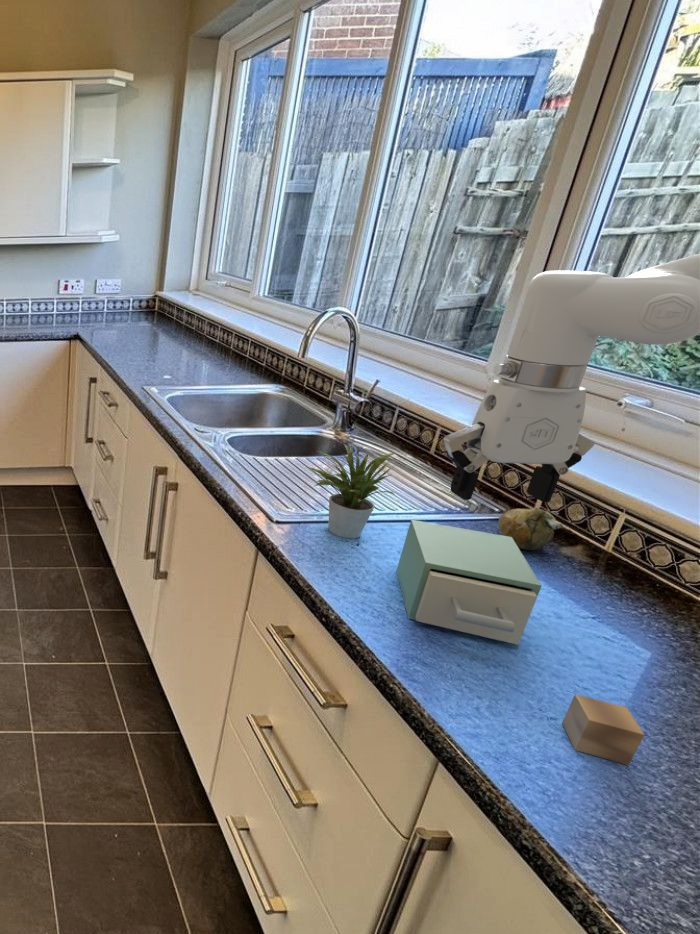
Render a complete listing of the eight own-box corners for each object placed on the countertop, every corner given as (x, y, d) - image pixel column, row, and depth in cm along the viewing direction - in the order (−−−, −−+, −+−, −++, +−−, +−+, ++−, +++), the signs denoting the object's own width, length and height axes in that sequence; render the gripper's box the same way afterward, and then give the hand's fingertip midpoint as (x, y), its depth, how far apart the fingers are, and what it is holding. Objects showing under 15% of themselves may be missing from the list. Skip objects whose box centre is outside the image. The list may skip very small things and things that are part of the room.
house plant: (335, 506, 125) (353, 430, 119) (407, 536, 113) (431, 454, 107) (286, 521, 119) (303, 442, 113) (357, 554, 107) (380, 468, 101)
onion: (547, 542, 110) (563, 502, 107) (550, 561, 104) (566, 519, 101) (492, 530, 115) (506, 491, 112) (492, 547, 109) (506, 507, 106)
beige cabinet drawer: (529, 667, 79) (549, 617, 77) (421, 640, 85) (437, 593, 82) (493, 593, 94) (509, 549, 92) (404, 575, 100) (416, 532, 97)
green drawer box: (518, 644, 85) (541, 585, 81) (408, 618, 91) (425, 562, 87) (492, 590, 97) (511, 536, 93) (396, 570, 102) (411, 519, 99)
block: (612, 737, 70) (627, 707, 68) (628, 765, 66) (645, 734, 65) (561, 723, 72) (574, 693, 70) (574, 750, 68) (589, 719, 67)
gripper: (487, 380, 74) (447, 507, 81) (645, 382, 73) (592, 511, 79) (447, 365, 81) (413, 483, 88) (590, 367, 80) (545, 487, 86)
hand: (498, 496), depth 83 cm, fingers open, 9 cm apart
